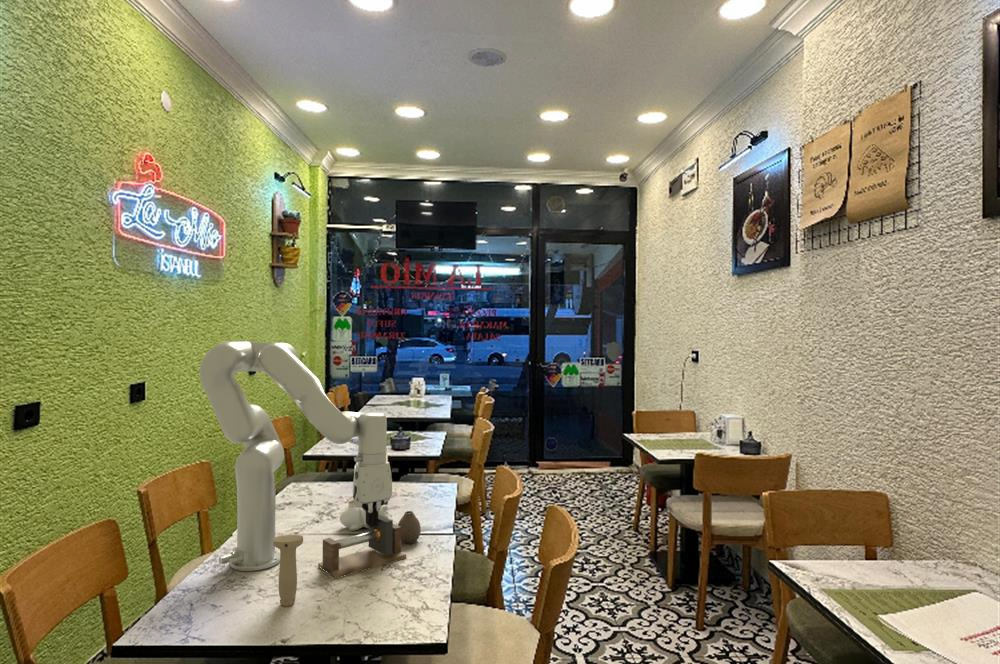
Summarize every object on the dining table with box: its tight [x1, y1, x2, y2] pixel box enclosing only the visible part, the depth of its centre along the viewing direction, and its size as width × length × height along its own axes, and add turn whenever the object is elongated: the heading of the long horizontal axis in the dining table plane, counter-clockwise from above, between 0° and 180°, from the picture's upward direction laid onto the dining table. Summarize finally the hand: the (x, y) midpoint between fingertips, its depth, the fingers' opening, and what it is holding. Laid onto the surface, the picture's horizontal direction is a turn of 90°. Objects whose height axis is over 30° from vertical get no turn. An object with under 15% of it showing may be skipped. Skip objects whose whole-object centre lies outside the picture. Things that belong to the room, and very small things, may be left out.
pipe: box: [334, 529, 381, 550], centre depth 163 cm, size 18×3×3 cm, turn 133°
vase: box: [397, 510, 421, 545], centre depth 180 cm, size 7×7×9 cm
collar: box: [368, 515, 394, 555], centre depth 167 cm, size 2×9×9 cm, turn 43°
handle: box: [273, 534, 304, 608], centre depth 138 cm, size 5×6×15 cm
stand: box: [317, 523, 407, 579], centre depth 163 cm, size 21×10×8 cm, turn 133°
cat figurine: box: [339, 499, 389, 532], centre depth 192 cm, size 10×8×15 cm
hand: (371, 525), depth 165 cm, fingers closed
